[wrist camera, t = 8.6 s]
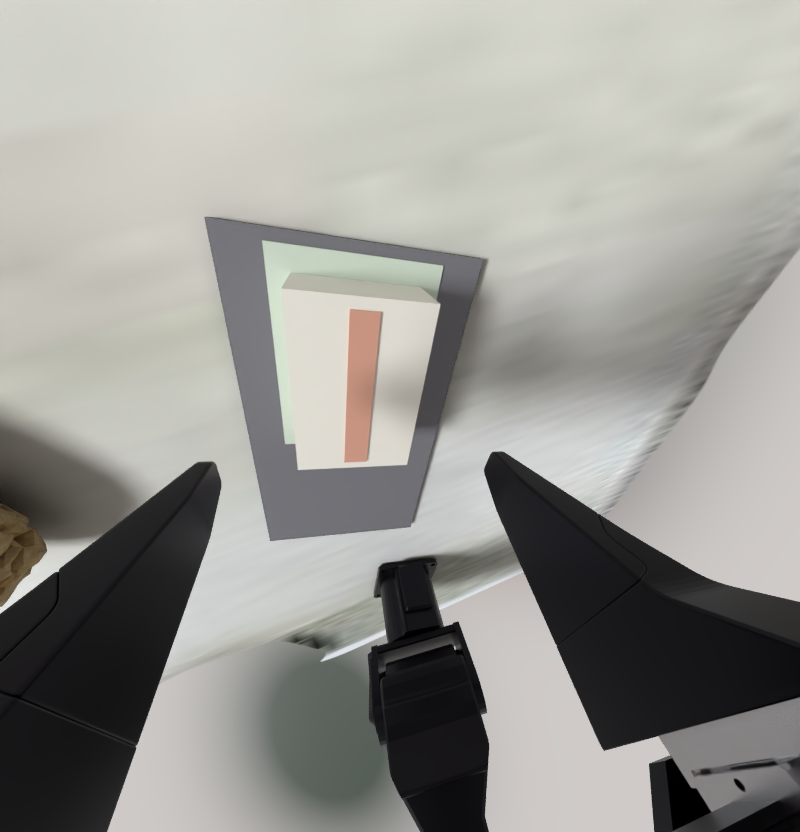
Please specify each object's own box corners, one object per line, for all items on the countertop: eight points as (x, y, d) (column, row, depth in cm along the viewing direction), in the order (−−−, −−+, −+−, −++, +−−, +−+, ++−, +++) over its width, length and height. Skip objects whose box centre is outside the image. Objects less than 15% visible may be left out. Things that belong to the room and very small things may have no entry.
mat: (409, 523, 26) (410, 528, 26) (271, 536, 24) (270, 542, 23) (479, 258, 14) (484, 259, 14) (207, 216, 11) (203, 216, 11)
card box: (420, 287, 14) (441, 304, 11) (396, 430, 19) (407, 466, 16) (290, 272, 12) (280, 288, 10) (302, 432, 18) (297, 471, 15)
